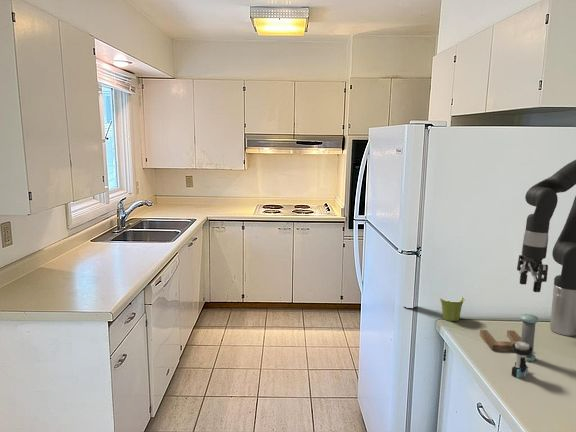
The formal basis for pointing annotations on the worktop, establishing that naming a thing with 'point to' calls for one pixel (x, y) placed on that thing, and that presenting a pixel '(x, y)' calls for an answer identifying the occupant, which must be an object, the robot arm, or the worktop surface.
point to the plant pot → (451, 309)
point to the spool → (529, 332)
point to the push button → (521, 358)
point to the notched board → (500, 345)
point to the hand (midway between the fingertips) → (529, 287)
